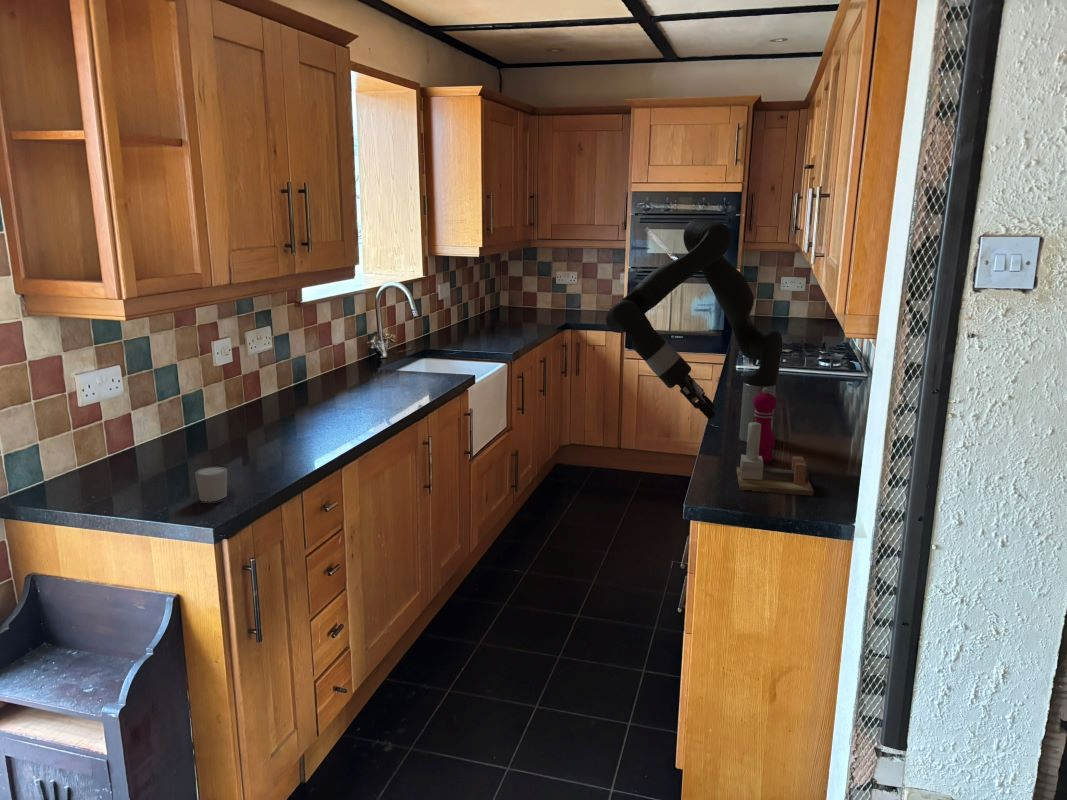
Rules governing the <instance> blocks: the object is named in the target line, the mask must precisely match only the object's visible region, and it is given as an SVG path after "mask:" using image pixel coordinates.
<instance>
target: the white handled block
mask: <svg viewBox="0 0 1067 800" xmlns="http://www.w3.org/2000/svg"><path fill="white" fill-rule="evenodd" d="M760 433H761V424H760V423H757V422H750V423H749V425H748V438H747V442H746V451H745V454H740V465H739V467H740V470H741V478H743V479H757V480H762V475H763V468H764V462H763V459H762V456H759V445H760Z"/></svg>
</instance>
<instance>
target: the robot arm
mask: <svg viewBox="0 0 1067 800" xmlns="http://www.w3.org/2000/svg"><path fill="white" fill-rule="evenodd" d="M682 240H683V243H684V247H685V249H686V250H687V253H686V254H684V255H682V256H680V257H679V258H676V259H674V260H672V261H670V262H668V263H665V264H663V265H662V266H661V265H660V266H659V267H658V268H656V269H653V271H651V272H650V273H649V274H647V276H645V277H644V278H643V279H642V280H641V281H640V282H639V283H638V284H636V286H635V287H634V288H633V289H632V291H631V292H629V293H627V295H625V296H624V297H623V298H622V299H621V300H620V301H618V302H616V303H615V305H613V306H612V307H611V308H610V309H609V310H608V311H607V313H606V316H605V322H606V326H607V327H608V329H609V330H610V331H612V332H613V333H616V334H617V333H618V334H622V333H626V334H627V336H628V337H629V338H630V340H631V341H632V342H631V346H632V348H633V350H634V352H636V354H638V355H639V356H640V358H641V359H642V360H643V361H644V362H645V363H646V365H647V366H648V367H649V369H650V370H651V371H652V372H653V373H654V375H656V376H657V377H658V379H659V380H661V382H662V383H663V384H664V385H665V386H666V387H667V388H668V389H672V388H675V387H676V386H678V387H679V388H680V389H679V392H680V393H681V394H682V395H683V396H684V398H686V400H687V402H689V404H691V405H692V406H693V408H694V409H697V410H699V411H700V412H701V413H702V414H703V415H704V416H705V417H706V419H707V420H711V419H712V418H713V417H715V416H716V412H715V411H714V408H715V403H714V402H713V401H712V400H711V399H710V398H709V397H708V396H707V395H706V392H705V391H704V388H703V387H701V386H700V384H699V383H697V381H696V380H695V379H694V378H692V376H691V374H690V372H691V371H692V367H691V365H689V363H688V362H687V361H686V360H685V359H684V358H683V357H682V355H680V354H679V353H678V352H677V351H676V350H675V348H674V347H672V346H671V345H670V344H669V343H668V342H667V341H666V340H664V338H663V337H662V336H661V335H660V334H659V333H658V332H657V331H656V329H654V327H653V326H652V325H653V324H651V322H650V320H649V318H648V317H647V315H646V313H648V312H649V311H650V310H652V309H654V308H655V307H656V306H657V305H659V304H660V303H661V302H662V301H663V300H664V299H665V298H666V297H668V295H670V294H671V293H672V292H673V291H674V290H675V289H676V288H677V287H679V286H680V285H681V284H682V283H684V282H686V281H688V279H690V278H691V277H693V276H694V275H696V274H697V273H699V272H700V271H701V272H702V274H703V276H704V278H705V280H706V281H707V284H708V286H709V288H710V289H711V290H712V292H713V295H714V297H715V300H717V303H718V304H719V306H720V308H721V309H722V311H723V314H724V315H725V318H726V319H727V321H728V323H729V325H730V327H731V329H732V332H733V335H734V338H735V340H736V342H737V343H736V344H737V345H738V348H739V350H740V352H741V353H742V355H743V356H744V357H745V358H747V359H750V360H756V361H760V364H759V368H757V369H753V370H749V371H746V372H745V373H744V374H743V381H742V382H743V384H742V395H741V396H742V397H741V410H740V424H739V436H738V437H739V438H738V439H739V440H740V441H741V442H745V443H747V438H748V425H749V423H750V422H756V416H755V415H754V414H755V410H756V408H755V407H754V404H753V401H754V398H755V397H756V395H758V394H760V393H763V392H762V390H763V389H764V388H768V389H769V394H771V395H773V396H774V397H775V398H776V387H777V386H776V385H777V380H778V379H777V378H778V377H779V372H780V365H781V358H782V354H783V353H782V351H783V337H782V334H781V333H780V332H779V330H775V329H768V328H762V327H761V328H760V327H756V326H755V325H754V323H753V322H752V320H751V317H750V316H751V313H752V310H753V307H754V304H755V298H754V297H755V296H754V293H753V291H752V289H751V287H750V285H749V282H748V281H747V279H746V278H745V276H744V275H743V274H742V272H740V271H739V269H737V268H736V267H735V266H734V265H733V264H732V263H731V262H730V261H728V259H727V258H725V256H724V255H725V254H726V253H727V252H728V251H729V249H730V247H731V245H732V241H733V234H732V230H731V229H730V227H729V226H728V225H727V224H725V223H722V222H718V221H714V220H710V219H703V218H696V219H693V220H691V221H690V222H688V223H687V224H686V225H685V228H684V231H683V239H682ZM774 410H775V408H774V409H773V412H774ZM774 414H775V413H773V415H774ZM773 422H774V416H773V417H772V419H771V430H772V431H773V424H774V423H773Z"/></svg>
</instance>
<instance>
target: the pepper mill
mask: <svg viewBox="0 0 1067 800" xmlns="http://www.w3.org/2000/svg"><path fill="white" fill-rule="evenodd" d="M762 392H763V393H760V394H758V395H756V397H755V398H754V401H753V404H754V407H755V408H756V410H755V414H754V415H755V416H756V422H757V423H760V424H761V433H760V445H759V456H762V459H763V463H768V462H769V463H770V462H772V460H773V453H772V451H773V450H774V449H775V448H776V440H775V436H774V433H773V429H772V430H771V419H772V417H773V418H774V414H775V413H774V412H773V409H774V410H775V409H776V407H777V398H776V396H775V397H774V396H773V395H771V394H769V389H768V388H764V389H763V390H762ZM773 413H774V414H773Z"/></svg>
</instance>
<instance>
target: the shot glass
mask: <svg viewBox="0 0 1067 800" xmlns="http://www.w3.org/2000/svg"><path fill="white" fill-rule="evenodd" d="M194 476H195V480H196V481H195V482H196V486H197V491H198V496H199V501H200V500H201V501H205V502H206V501H209V502H211V501H217V500H220V499H222V498H224V497H226V496H227V495H228V494H227V493H228V492H227V491H228V490H227V489H228V469H227V468H226V467H225V466H224V467H222V466H209V467H202V468H199V469H198V470H196V471H195V473H194ZM227 497H228V496H227Z"/></svg>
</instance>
